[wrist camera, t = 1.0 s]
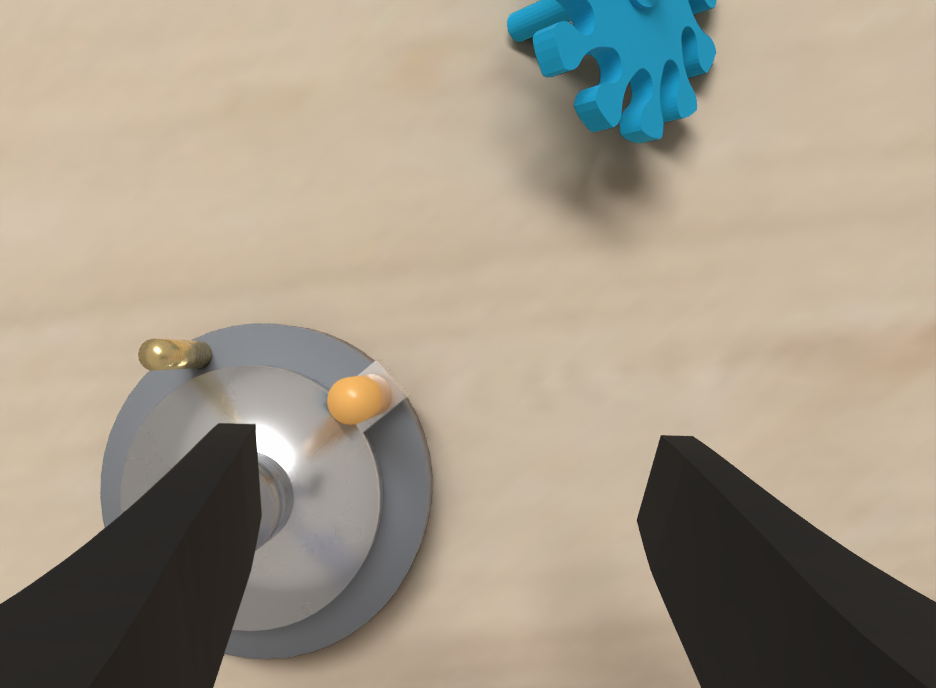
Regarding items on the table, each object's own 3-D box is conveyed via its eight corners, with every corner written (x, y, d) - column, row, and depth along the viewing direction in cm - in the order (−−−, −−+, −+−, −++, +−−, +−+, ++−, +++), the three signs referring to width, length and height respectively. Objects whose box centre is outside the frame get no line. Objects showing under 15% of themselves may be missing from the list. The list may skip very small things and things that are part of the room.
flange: (239, 673, 23) (189, 732, 19) (84, 473, 23) (7, 495, 20) (477, 477, 22) (471, 501, 19) (315, 278, 23) (279, 264, 19)
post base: (485, 560, 24) (480, 607, 20) (203, 691, 25) (135, 765, 20) (349, 272, 25) (314, 253, 20) (76, 407, 25) (-18, 418, 21)
